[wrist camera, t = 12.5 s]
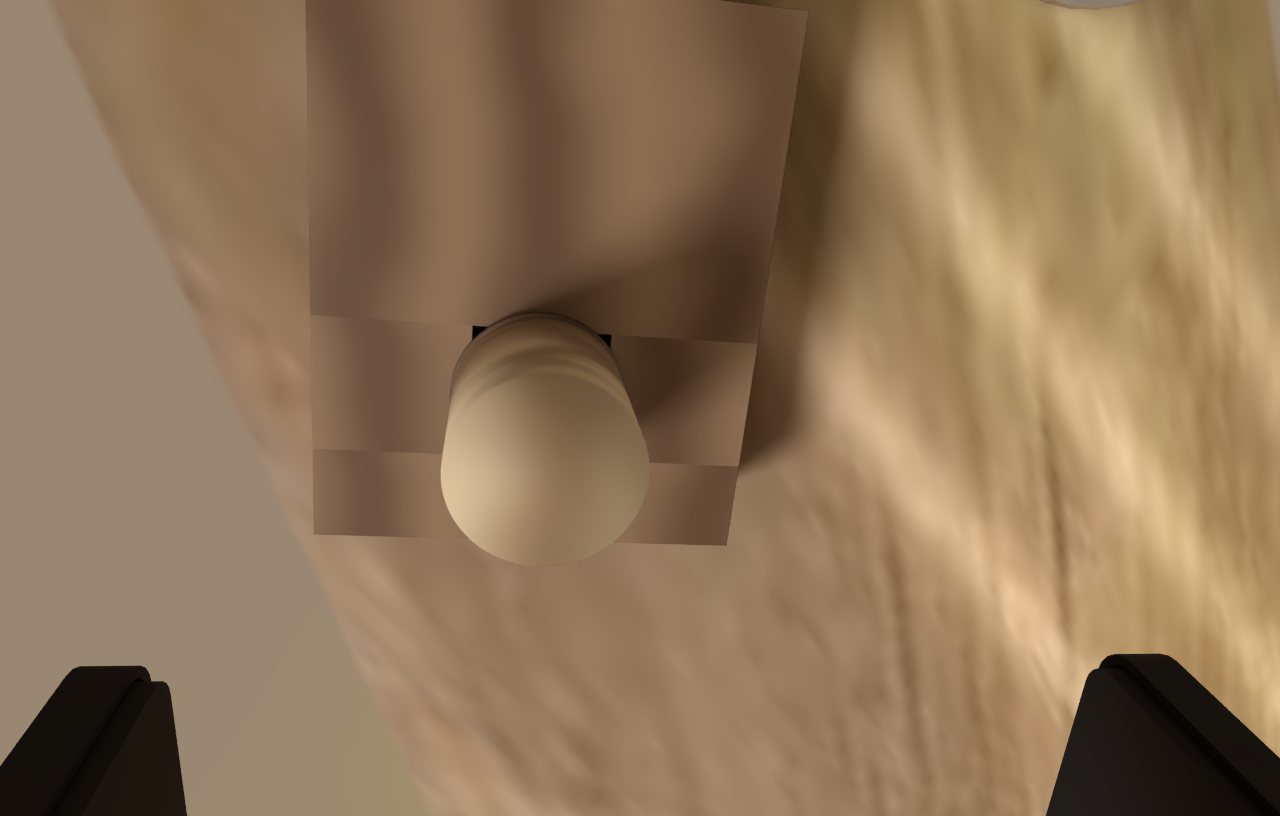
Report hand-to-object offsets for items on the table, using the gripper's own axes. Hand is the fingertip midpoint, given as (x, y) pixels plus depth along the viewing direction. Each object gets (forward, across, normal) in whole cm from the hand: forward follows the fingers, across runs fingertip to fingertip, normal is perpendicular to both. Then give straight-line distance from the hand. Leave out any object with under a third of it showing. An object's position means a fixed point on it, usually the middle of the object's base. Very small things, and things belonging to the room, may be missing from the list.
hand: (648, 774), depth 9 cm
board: (+30, +1, +1) cm, 30 cm away
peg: (+29, +1, +5) cm, 29 cm away
